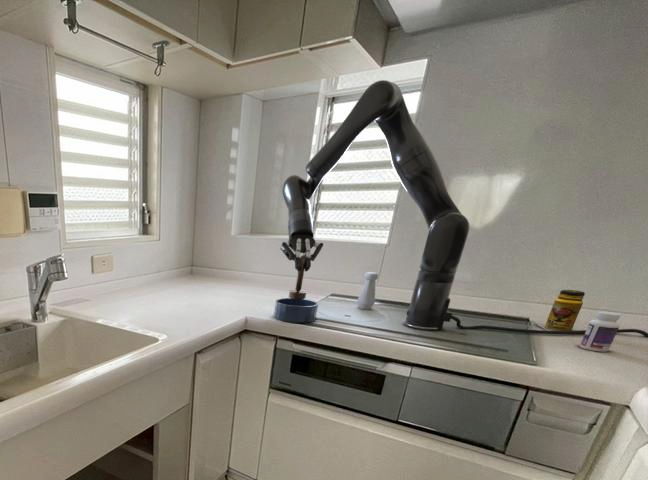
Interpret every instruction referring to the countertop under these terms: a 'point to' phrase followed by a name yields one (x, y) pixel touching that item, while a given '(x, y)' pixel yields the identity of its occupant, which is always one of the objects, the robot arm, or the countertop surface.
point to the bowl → (295, 310)
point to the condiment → (564, 311)
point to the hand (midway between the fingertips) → (303, 269)
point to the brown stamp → (299, 282)
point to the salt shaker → (368, 291)
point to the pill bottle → (601, 332)
